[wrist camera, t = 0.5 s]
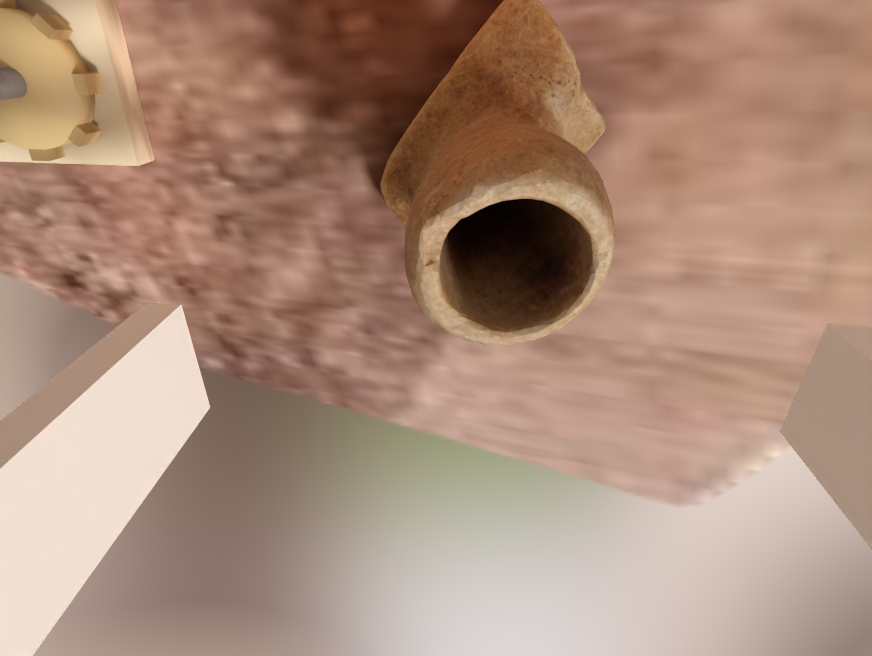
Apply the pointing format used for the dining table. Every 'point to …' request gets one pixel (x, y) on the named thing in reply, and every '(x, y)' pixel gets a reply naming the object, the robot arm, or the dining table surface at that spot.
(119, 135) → the gear board
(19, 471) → the robot arm
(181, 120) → the dining table surface
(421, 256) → the brown hollow flared piece
